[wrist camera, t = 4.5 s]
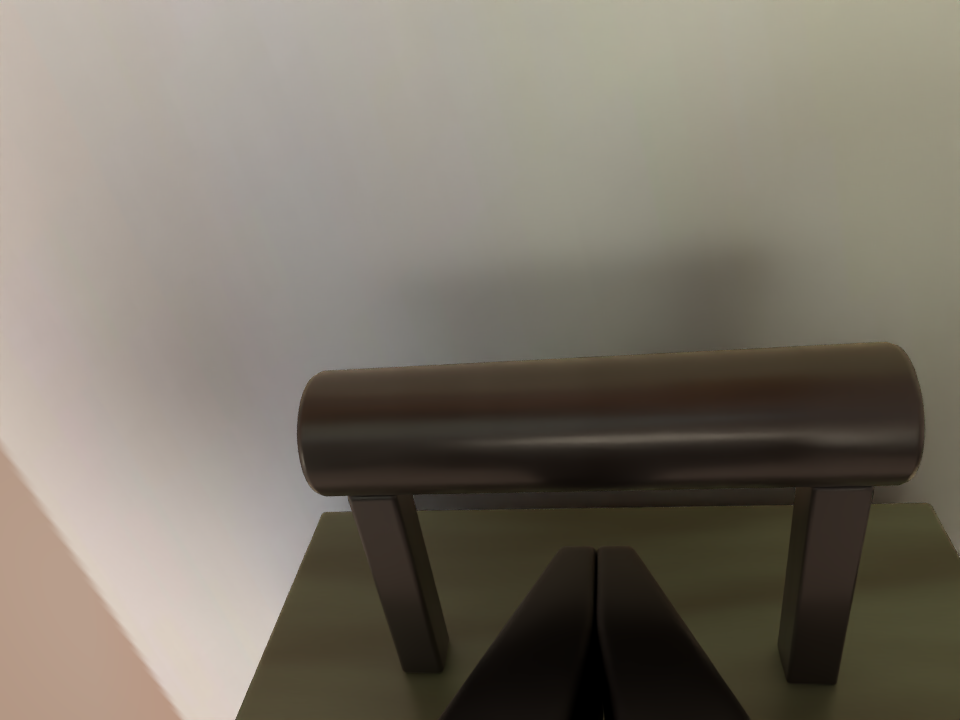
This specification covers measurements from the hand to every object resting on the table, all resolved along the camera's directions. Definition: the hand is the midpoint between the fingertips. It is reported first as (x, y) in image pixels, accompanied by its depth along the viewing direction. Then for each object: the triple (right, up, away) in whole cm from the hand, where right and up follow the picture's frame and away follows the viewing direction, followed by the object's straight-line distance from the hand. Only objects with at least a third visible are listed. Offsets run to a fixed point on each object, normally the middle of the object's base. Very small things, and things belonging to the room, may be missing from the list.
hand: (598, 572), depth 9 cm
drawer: (+1, -3, +6) cm, 7 cm away
